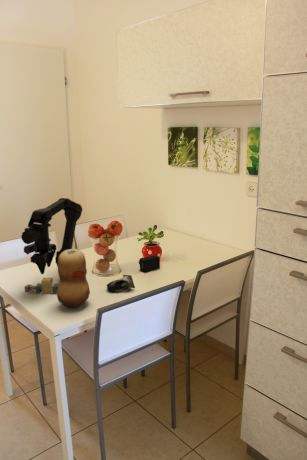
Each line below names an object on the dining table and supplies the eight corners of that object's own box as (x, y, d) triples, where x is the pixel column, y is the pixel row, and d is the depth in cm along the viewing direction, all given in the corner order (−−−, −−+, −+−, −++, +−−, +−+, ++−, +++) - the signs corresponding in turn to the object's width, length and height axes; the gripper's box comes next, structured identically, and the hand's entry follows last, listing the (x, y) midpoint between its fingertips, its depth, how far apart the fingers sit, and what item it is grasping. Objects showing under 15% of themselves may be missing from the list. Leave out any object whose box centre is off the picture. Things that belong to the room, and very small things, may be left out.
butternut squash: (66, 315, 159) (61, 258, 153) (53, 304, 170) (48, 250, 163) (96, 306, 167) (92, 251, 161) (82, 296, 178) (78, 243, 171)
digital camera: (153, 266, 214) (153, 254, 212) (160, 268, 210) (159, 256, 208) (138, 270, 208) (138, 258, 206) (144, 273, 204) (144, 260, 202)
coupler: (45, 290, 185) (43, 277, 183) (53, 290, 184) (52, 277, 183) (42, 293, 181) (41, 280, 179) (50, 293, 181) (49, 281, 179)
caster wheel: (106, 294, 185) (121, 285, 191) (120, 297, 176) (136, 287, 182) (101, 282, 183) (117, 273, 190) (115, 283, 175) (132, 274, 181)
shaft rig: (23, 293, 181) (22, 286, 180) (26, 289, 186) (26, 282, 185) (69, 294, 180) (69, 286, 179) (72, 290, 184) (71, 282, 183)
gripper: (32, 232, 185) (35, 263, 189) (17, 244, 167) (20, 277, 171) (55, 232, 184) (58, 263, 189) (42, 244, 166) (45, 278, 171)
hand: (45, 270), depth 180 cm, fingers open, 9 cm apart
